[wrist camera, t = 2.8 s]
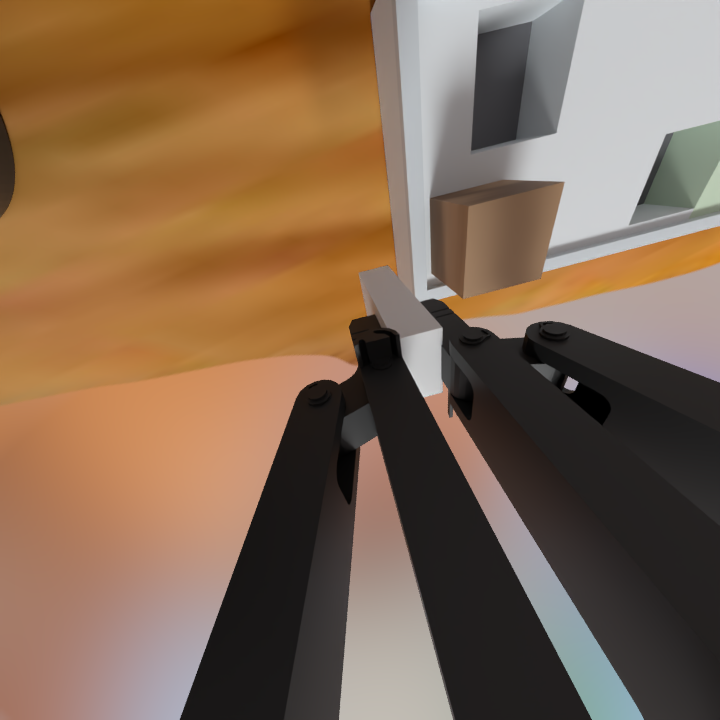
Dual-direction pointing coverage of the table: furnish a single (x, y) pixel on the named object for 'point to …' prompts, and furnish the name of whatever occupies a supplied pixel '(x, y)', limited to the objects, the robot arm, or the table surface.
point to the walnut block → (492, 234)
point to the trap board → (551, 117)
